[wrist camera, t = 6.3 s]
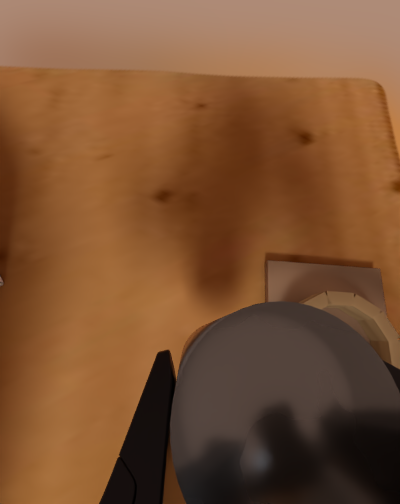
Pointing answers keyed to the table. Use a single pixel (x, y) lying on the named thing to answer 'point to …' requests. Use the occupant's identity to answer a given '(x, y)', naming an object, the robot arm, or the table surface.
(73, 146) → the table surface
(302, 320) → the hinge pin
